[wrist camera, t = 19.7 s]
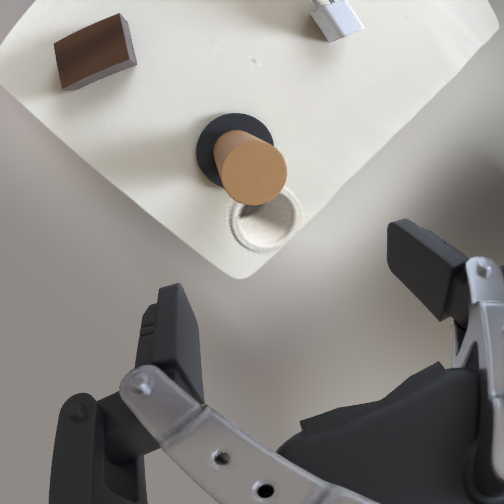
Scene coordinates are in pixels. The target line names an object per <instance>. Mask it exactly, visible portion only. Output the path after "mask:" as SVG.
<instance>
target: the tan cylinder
mask: <svg viewBox="0 0 504 504" xmlns="http://www.w3.org/2000/svg"><path fill="white" fill-rule="evenodd" d="M213 154H214V159H215V162H216V165H217V168H218V172H219V175H220V178H221V181H222V184H223V187H224V189H225V191H226V192H227V193H228V195H229V196H230V197H231V198H233V199H234V200H235V201H237V202H239V203H242V204H245V205H261V204H264V203H267V202H269V201H270V200H272V199H273V198H275V197H276V196H277V195H278V194H279V193H280V191H281V190H282V188H283V187H284V185H285V182H286V178H287V166H286V162H285V159H284V157H283V156H282V154H281V153H280V151H279V150H278V149H277V148H275V147H274V146H272V145H270V144H269V143H267V142H265V141H263V140H261V139H259V138H257V137H255V136H253V135H251V134H249V133H247V132H245V131H241V130H232V131H228V132H226V133H224V134H223V135H222V136H220V137H219V138H218V140H217V141H216V143H215V146H214V151H213Z"/></svg>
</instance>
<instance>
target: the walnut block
mask: <svg viewBox="0 0 504 504" xmlns="http://www.w3.org/2000/svg"><path fill="white" fill-rule="evenodd" d="M54 49H55V55H56V61H57V66H58V71H59V76H60V80H61V85H62V89H70V90H77V89H79V88H81V87H83V86H85V85H88V84H90V83H92V82H94V81H97V80H99V79H101V78H104V77H106V76H108V75H111V74H113V73H116V72H118V71H121V70H124V69H126V68H129V67H132V66H134V65H137V61H136V57H135V53H134V48H133V44H132V40H131V35H130V30H129V26H128V22H127V21H126V20H125V19H124V18H123V16H122V15H121V14H120V13H119V14H116V15H114V16H111V17H109V18H106V19H104V20H101V21H99V22H97V23H94V24H92V25H90V26H88V27H86V28H83V29H81V30H79V31H77V32H75V33H73V34H71V35H69V36H67V37H65V38H63V39H61V40H60V41H58V42H56V43H54Z"/></svg>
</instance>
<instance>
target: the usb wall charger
mask: <svg viewBox="0 0 504 504" xmlns="http://www.w3.org/2000/svg"><path fill="white" fill-rule="evenodd" d="M312 1H313V2H314V3H315V5H316V6H317V7H318V10H316V11H315V12H313V13H312V14H311V16H312V18H313V19H314V21H315V22H316V24H317V25H318V27H319V28H320V30H321V31H322V33H323V34H324V36H325V37H326V39H327V40H328V42H329V43H330V42H333V41H335V40H338V39H340V38H343V37H345V36H347V35H350V34H352V33H354V32H357V31H359V30H362V29H364V27H363V25H362V23H361V22H360V20H359V19H358V17H357V15H356V14H355V12H354V11H353V9H352V8H351V6H350V5H349V3H348V2H347V0H339V1H337V2H335V1H334V0H329V1H330V3H331V4H328V5H326V6H323V7H322V6H321V5H320V4H319V2H318V1H317V0H312Z"/></svg>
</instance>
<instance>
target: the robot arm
mask: <svg viewBox="0 0 504 504" xmlns="http://www.w3.org/2000/svg"><path fill="white" fill-rule="evenodd" d="M387 262H388V266H389V268H390V270H391V272H392V273H393V274H394V275H395V276H396V277H397V278H398V279H399V280H400V281H401V282H403V284H404V285H405V286H406V287H407V288H408V289H409V290H410V291H411V292H412V293H413V294H414V295H415V296H416V297H417V298H418V299H419V300H420V301H421V302H422V303H423V304H424V305H425V306H426V307H427V309H428V310H429V311H431V313H432V314H433V315H434V316H435V317H436V318H437V319H438V320H439V321H442V320H444V319H446V318H448V317H450V316H451V317H452V318H453V320H452V324H451V336H452V337H451V338H452V362H451V363H452V364H451V368H450V369H444V367H443V366H442V365H441V363H440V362H439V361H438V362H436V363H434V364H433V365H431V366H429V367H427V368H425V369H424V370H422V371H420V372H418V373H416V374H414V375H412V376H410V377H409V378H408V379H407V380H405V381H404V382H403V383H402V384H401V385H399V386H398V387H397V388H396V389H395V390H394V391H392V392H391V393H390V394H388V395H387V396H386V397H385V398H383V399H381V400H379V401H375V402H370V403H365V404H359V405H354V406H347V407H340V408H337V409H334V410H331V411H329V412H326V413H323V414H320V415H317V416H314V417H311V418H308V419H305V420H302V421H300V425H301V429H302V431H301V432H299V433H298V434H296V435H294V436H293V437H291V438H290V439H289V440H287V441H286V442H285V443H284V444H283V445H282V446H280V447H279V448H278V449H277V451H276V452H274V451H272V450H270V449H269V448H268V447H266V446H265V445H263V444H262V443H260V442H259V441H257V440H256V439H254V438H253V437H251V436H250V435H248V434H247V433H246V432H244V431H243V430H241V429H240V428H239V427H237V426H236V425H234V424H233V423H232V422H230V421H229V420H227V419H226V418H225V417H224V416H222V415H221V414H220V413H218V412H217V411H216V410H214V409H213V408H212V407H210V406H208V405H204V406H202V404H205V403H204V392H203V381H202V369H201V356H200V343H199V342H200V341H199V330H198V325H197V321H196V318H195V315H194V313H193V311H192V308H191V306H190V304H189V301H188V299H187V296H186V294H185V292H184V289H183V287H182V285H181V284H180V283H176V284H173V285H169V286H165V287H162V288H160V289H159V294H158V302H157V303H156V304H152V305H150V306H149V307H148V309H147V310H146V312H145V313H144V315H143V318H142V324H141V329H140V337H139V342H138V348H137V355H136V362H135V368H134V369H133V370H131V371H130V372H129V373H127V375H125V377H124V378H123V380H122V381H121V384H120V387H119V391H118V392H116V393H114V394H112V395H110V396H108V397H105V398H103V399H101V400H99V401H96V400H95V399H94V398H93V397H92V396H91V395H89V394H87V393H79V394H76V395H73V396H72V397H70V398H69V399H68V400H67V401H66V402H65V403H64V404H63V406H62V408H61V410H60V414H59V419H58V425H57V431H56V438H55V443H54V450H53V459H52V467H51V477H50V490H49V504H148V503H147V493H146V482H145V468H144V455H145V454H147V453H150V452H152V451H154V450H156V449H159V448H162V449H163V450H164V452H165V453H166V454H167V455H168V456H169V457H170V458H171V459H172V460H173V461H174V462H175V463H176V464H177V465H178V466H179V467H180V468H181V469H182V470H183V471H184V472H185V473H186V474H187V475H188V476H189V477H190V478H191V479H192V480H193V481H194V482H196V483H197V484H198V485H199V486H200V487H201V488H202V489H203V490H204V491H205V492H206V493H208V494H209V495H210V496H211V497H212V498H213V499H214V500H216V501H217V502H218V503H219V504H504V266H499V265H498V264H497V263H496V262H494V261H493V260H491V259H489V258H486V257H473V258H468V257H467V256H466V255H464V254H463V253H462V252H460V251H459V250H457V249H456V248H455V247H453V246H452V245H451V244H449V243H447V242H446V241H445V240H443V239H442V238H440V237H439V236H438V235H436V234H435V233H433V232H432V231H430V230H427V229H424V228H421V227H419V226H418V225H416V224H415V223H413V222H412V221H410V220H409V219H406V218H405V219H402V220H398V221H395V222H391V223H389V225H388V228H387Z"/></svg>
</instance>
